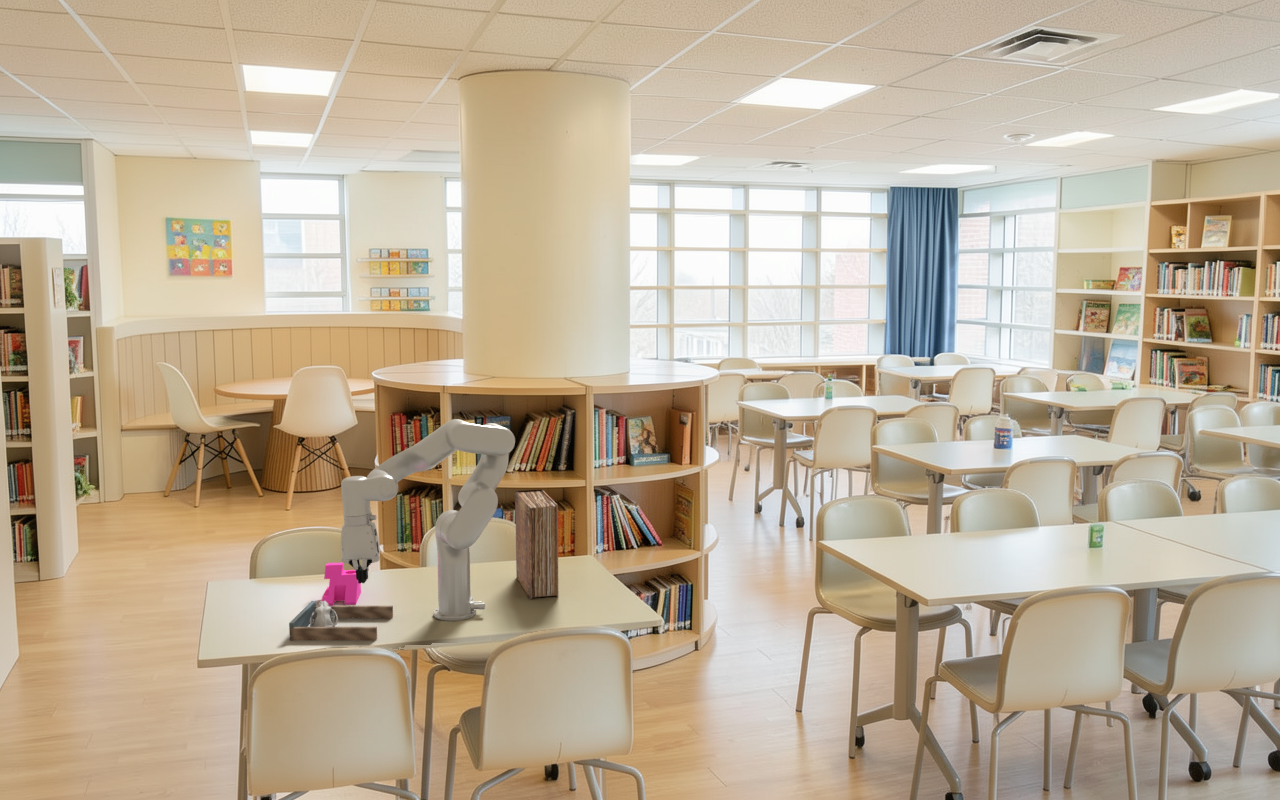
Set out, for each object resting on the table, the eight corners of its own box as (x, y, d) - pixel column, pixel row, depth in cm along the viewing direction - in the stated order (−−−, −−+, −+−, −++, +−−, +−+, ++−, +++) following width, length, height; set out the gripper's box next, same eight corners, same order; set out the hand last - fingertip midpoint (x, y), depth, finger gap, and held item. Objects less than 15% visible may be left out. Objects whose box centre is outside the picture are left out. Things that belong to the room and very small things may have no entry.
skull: (308, 629, 271) (306, 592, 279) (311, 644, 278) (310, 607, 285) (337, 625, 274) (335, 588, 281) (340, 639, 280) (338, 603, 288)
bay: (393, 617, 290) (392, 600, 289) (376, 640, 270) (375, 623, 270) (312, 617, 289) (311, 600, 289) (289, 640, 270) (289, 623, 270)
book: (558, 597, 308) (557, 504, 305) (529, 600, 306) (528, 506, 302) (542, 575, 332) (542, 489, 329) (516, 577, 330) (515, 490, 326)
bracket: (328, 594, 311) (326, 563, 310) (361, 592, 313) (360, 561, 312) (321, 606, 300) (320, 574, 299) (356, 604, 301) (354, 572, 300)
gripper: (387, 515, 280) (391, 576, 283) (335, 517, 280) (340, 578, 282) (380, 522, 273) (385, 585, 275) (327, 524, 273) (332, 587, 275)
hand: (362, 581), depth 279 cm, fingers closed
